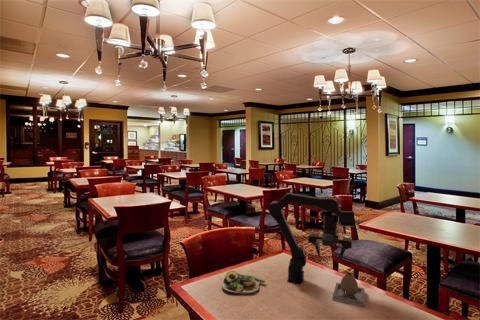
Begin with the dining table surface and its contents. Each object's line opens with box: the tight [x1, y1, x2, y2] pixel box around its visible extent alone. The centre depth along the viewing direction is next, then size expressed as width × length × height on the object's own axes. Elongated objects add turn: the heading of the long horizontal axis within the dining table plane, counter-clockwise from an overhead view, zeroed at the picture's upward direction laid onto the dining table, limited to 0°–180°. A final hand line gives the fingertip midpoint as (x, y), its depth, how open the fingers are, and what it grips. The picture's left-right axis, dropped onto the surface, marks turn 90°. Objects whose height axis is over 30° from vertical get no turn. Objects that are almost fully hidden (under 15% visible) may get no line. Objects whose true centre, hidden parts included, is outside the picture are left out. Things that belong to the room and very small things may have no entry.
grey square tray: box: [331, 282, 366, 308], centre depth 120 cm, size 12×12×2 cm
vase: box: [340, 272, 359, 296], centre depth 120 cm, size 7×7×9 cm
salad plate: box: [221, 270, 266, 295], centre depth 130 cm, size 19×18×5 cm
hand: (329, 258), depth 129 cm, fingers open, 9 cm apart
